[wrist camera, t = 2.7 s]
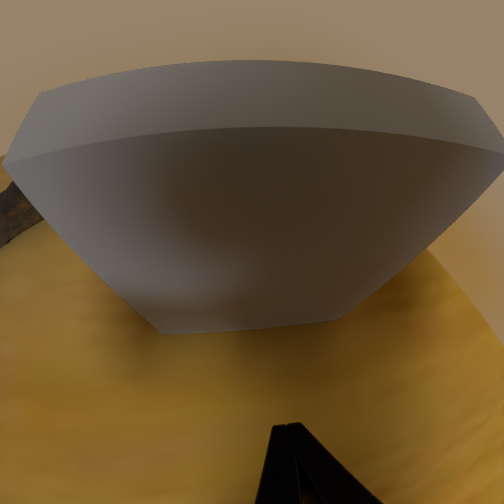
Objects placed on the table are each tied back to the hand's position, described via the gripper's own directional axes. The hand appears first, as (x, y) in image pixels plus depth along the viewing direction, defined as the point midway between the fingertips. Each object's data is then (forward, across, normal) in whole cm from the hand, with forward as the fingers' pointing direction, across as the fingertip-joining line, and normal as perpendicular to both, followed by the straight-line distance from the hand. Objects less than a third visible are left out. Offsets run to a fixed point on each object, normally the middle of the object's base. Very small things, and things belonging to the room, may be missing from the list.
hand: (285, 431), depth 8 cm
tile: (+9, 0, +1) cm, 9 cm away
